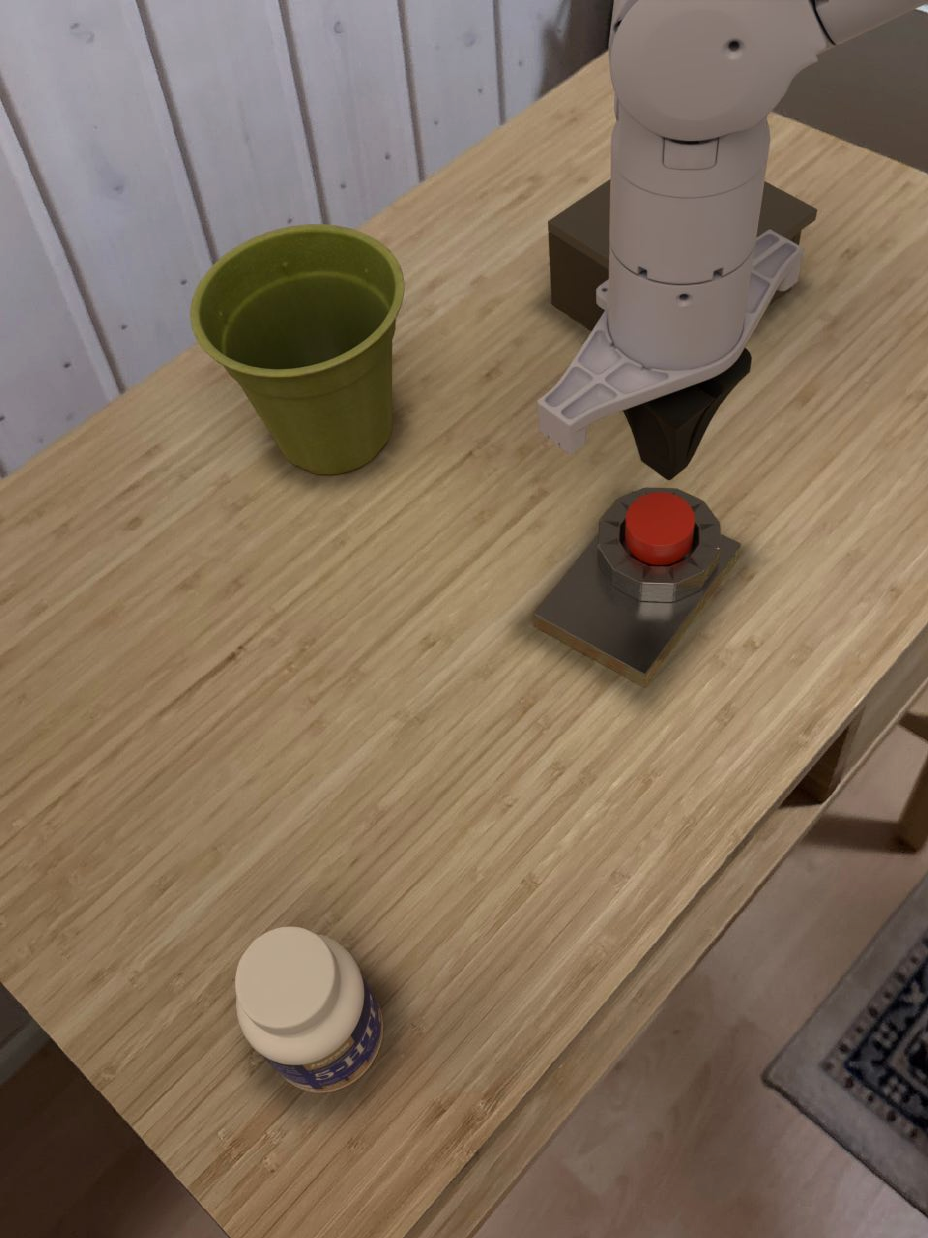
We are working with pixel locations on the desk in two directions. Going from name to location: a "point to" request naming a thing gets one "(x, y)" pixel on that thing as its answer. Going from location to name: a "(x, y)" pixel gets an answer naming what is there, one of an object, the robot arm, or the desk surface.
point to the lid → (591, 220)
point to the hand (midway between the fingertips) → (663, 462)
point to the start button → (659, 528)
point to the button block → (635, 592)
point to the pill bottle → (307, 1009)
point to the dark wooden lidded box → (586, 281)
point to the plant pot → (308, 338)
